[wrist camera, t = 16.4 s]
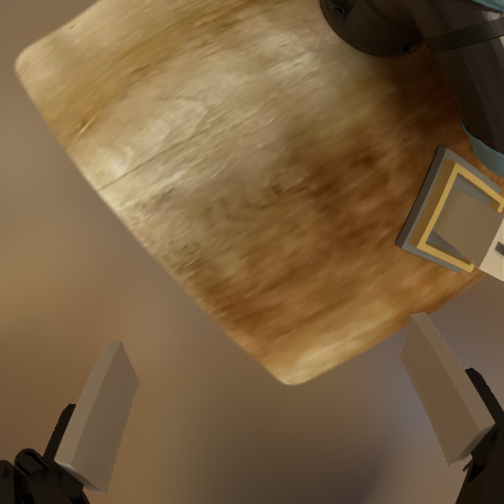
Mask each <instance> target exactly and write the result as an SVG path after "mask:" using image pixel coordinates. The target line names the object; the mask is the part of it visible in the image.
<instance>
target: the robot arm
mask: <svg viewBox="0 0 504 504" xmlns="http://www.w3.org/2000/svg"><path fill="white" fill-rule="evenodd" d="M320 5H321V8H322V11H323V14H324V16H325V18H326V20H327V21H328V23H329V24H330V26H331V27H332V28H333V30H334V31H335V32H336V33H337V34H338V35H339V36H340V37H341V38H342V39H343V40H345V41H346V42H347V43H349V44H350V45H351V46H353V47H355V48H356V49H358V50H360V51H362V52H365V53H367V54H370V55H374V56H379V57H397V56H401V55H405V54H408V53H411V52H413V51H415V50H416V49H418V48H419V47H420V46H421V45H422V44H423V43H424V42H426V44H427V46H428V48H429V49H430V52H431V53H432V55H433V57H434V59H435V61H436V63H437V65H438V67H439V69H440V71H441V73H442V75H443V78H444V80H445V82H446V84H447V86H448V89H449V91H450V93H451V95H452V98H453V100H454V103H455V105H456V108H457V110H458V113H459V115H460V118H461V124H462V127H463V129H464V131H465V132H466V133H467V134H468V137H469V140H470V142H471V145H472V147H473V150H474V152H475V154H476V156H477V158H478V159H479V161H480V162H482V163H483V164H484V165H485V166H486V167H487V168H488V169H489V170H490V171H492V172H493V173H495V174H497V175H499V176H501V177H503V178H504V0H320ZM400 359H401V361H402V363H403V365H404V367H405V369H406V371H407V373H408V375H409V377H410V379H411V381H412V383H413V385H414V388H415V390H416V392H417V394H418V396H419V398H420V400H421V402H422V405H423V407H424V409H425V411H426V413H427V416H428V418H429V420H430V422H431V425H432V427H433V429H434V432H435V434H436V436H437V439H438V441H439V443H440V446H441V448H442V451H443V453H444V455H445V458H446V460H447V463H448V466H449V467H450V466H452V465H455V464H457V463H459V462H461V461H464V460H465V459H466V458H467V457H468V456H469V454H470V453H471V455H472V457H473V459H472V460H471V461H470V462H469V463H468V464H467V465H466V466H465V467H464V469H463V471H465V470H466V469H467V468H468V467H469V468H468V471H467V474H466V477H465V480H464V483H463V485H462V488H461V491H460V493H459V496H458V498H457V501H456V503H455V504H504V411H503V410H502V408H501V406H500V405H499V403H498V401H497V399H496V398H495V396H494V395H493V393H491V390H490V388H489V386H488V385H486V382H485V380H484V379H483V377H482V376H481V375H480V374H479V373H478V372H477V371H476V370H474V369H473V368H470V369H466V370H464V369H463V367H462V366H461V364H460V363H459V361H458V360H457V358H456V357H455V355H454V354H453V352H452V351H451V349H450V348H449V346H448V345H447V343H446V342H445V340H444V339H443V337H442V336H441V334H440V333H439V331H438V330H437V329H436V327H435V326H434V324H433V323H432V321H431V320H430V319H429V317H428V316H427V314H426V313H425V312H422V313H417V314H411V316H410V320H409V324H408V329H407V333H406V337H405V341H404V345H403V348H402V352H401V356H400ZM138 384H139V379H138V377H137V375H136V373H135V371H134V369H133V367H132V364H131V362H130V360H129V358H128V356H127V354H126V352H125V350H124V347H123V345H122V343H121V341H107V342H106V344H105V346H104V348H103V350H102V352H101V354H100V356H99V358H98V360H97V362H96V364H95V366H94V368H93V370H92V372H91V375H90V377H89V379H88V381H87V383H86V385H85V387H84V389H83V392H82V394H81V396H80V398H79V400H78V403H77V405H76V404H69V405H68V406H67V407H66V408H65V409H64V410H63V411H62V414H61V416H60V418H59V420H58V423H57V425H56V427H55V431H54V432H53V434H52V436H51V439H50V441H49V443H48V446H47V448H46V451H45V453H44V455H43V457H41V455H40V454H39V453H37V452H36V451H35V450H33V449H30V448H28V449H23V450H22V451H20V452H19V453H18V454H17V456H16V458H15V461H14V466H13V465H12V464H11V463H10V462H8V461H6V460H1V461H0V504H90V503H89V501H88V499H87V497H86V495H85V493H84V492H83V491H82V490H83V486H85V487H86V488H88V489H89V490H90V491H93V492H97V493H101V494H105V495H107V492H108V488H109V483H110V480H111V476H112V472H113V468H114V464H115V461H116V457H117V454H118V450H119V447H120V443H121V439H122V436H123V433H124V429H125V426H126V422H127V419H128V416H129V413H130V409H131V406H132V403H133V400H134V397H135V394H136V390H137V387H138Z"/></svg>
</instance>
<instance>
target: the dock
mask: <svg viewBox="0 0 504 504" xmlns="http://www.w3.org/2000/svg"><path fill="white" fill-rule="evenodd" d="M451 187H453V188H455V189H457V190H459V191H461V192H463V193H465V194H467V195H469V196H471V197H473V198H474V199H476V200H478V201H480V202H482V203H484V204H485V205H487V206H489V207H491V208H493V209H494V210H496V211H498V212H500V213H501V211H502V209H503V207H504V198H502V197H501V196H500V195H499V193H500V191H501V188H500V187H499V186H497V185H496V184H495V183H494V182H492V181H491V180H490V179H489V178H488V177H486V176H485V175H484V174H482V173H481V172H480V171H479V170H477V169H476V168H475V167H473V166H472V165H471V164H469V163H468V162H467V161H465V160H464V159H463V158H461V157H460V156H458V155H457V154H456V153H454V152H453V151H451V150H450V149H448V148H447V147H443V146H440V145H439V148H438V150H437V153H436V155H435V158H434V160H433V163H432V165H431V168H430V170H429V173H428V175H427V177H426V180H425V182H424V184H423V187H422V189H421V191H420V193H419V196H418V198H417V200H416V202H415V204H414V206H413V209H412V211H411V213H410V215H409V217H408V219H407V221H406V223H405V225H404V227H403V229H402V231H401V233H400V235H399V237H398V239H397V241H396V244H397V245H398V246H399V247H400V248H401V249H404V250H406V251H408V252H411V253H413V254H416V255H418V256H420V257H423V258H425V259H427V260H430V261H432V262H434V263H437V264H439V265H441V266H443V267H446V268H448V269H450V270H453V271H455V272H457V273H459V274H460V273H461V271H462V270H463V269H464V270H466V271H468V272H470V273H471V271H472V269H473V268H474V266H475V265H474V264H473V263H472V262H470V261H469V260H468V259H467V258H466V257H465V256H463V255H462V254H461V253H460V252H459V251H458V250H456V249H455V248H454V247H453V246H452V245H450V244H449V243H448V242H447V241H445V240H444V239H443V238H442V237H440V236H439V235H438V234H437V233H435V232H434V231H433V230H432V228H433V226H434V224H435V222H436V220H437V218H438V216H439V214H440V212H441V210H442V208H443V205H444V203H445V201H446V199H447V197H448V194H449V192H450V190H451Z"/></svg>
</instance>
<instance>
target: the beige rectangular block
mask: <svg viewBox="0 0 504 504" xmlns="http://www.w3.org/2000/svg"><path fill="white" fill-rule="evenodd" d="M432 230H433V231H434V232H435V233H437V234H438V235H439V236H440V237H442V238H443V239H444V240H445V241H447V242H448V243H449V244H450V245H452V246H453V247H454V248H455V249H456V250H458V251H459V252H460V253H461V254H462V255H463V256H465V257H466V258H467V259H468V260H469V261H470V262H472V263H473V264H474V265H475V266H476V267H477V268H478V269H480V270H482V271H484V272H486V273H488V274H490V275H492V276H494V277H496V278H498V279H500V280H502V281H504V215H503V214H501V213H500V212H498V211H496V210H494V209H493V208H491V207H489V206H487V205H485V204H484V203H482V202H480V201H478V200H476V199H474V198H473V197H471V196H469V195H467V194H465V193H463V192H461V191H459V190H457V189H455V188H453V187H451V190H450V192H449V194H448V197H447V199H446V201H445V203H444V205H443V208H442V210H441V212H440V214H439V216H438V218H437V220H436V222H435V224H434V226H433V228H432Z"/></svg>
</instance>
